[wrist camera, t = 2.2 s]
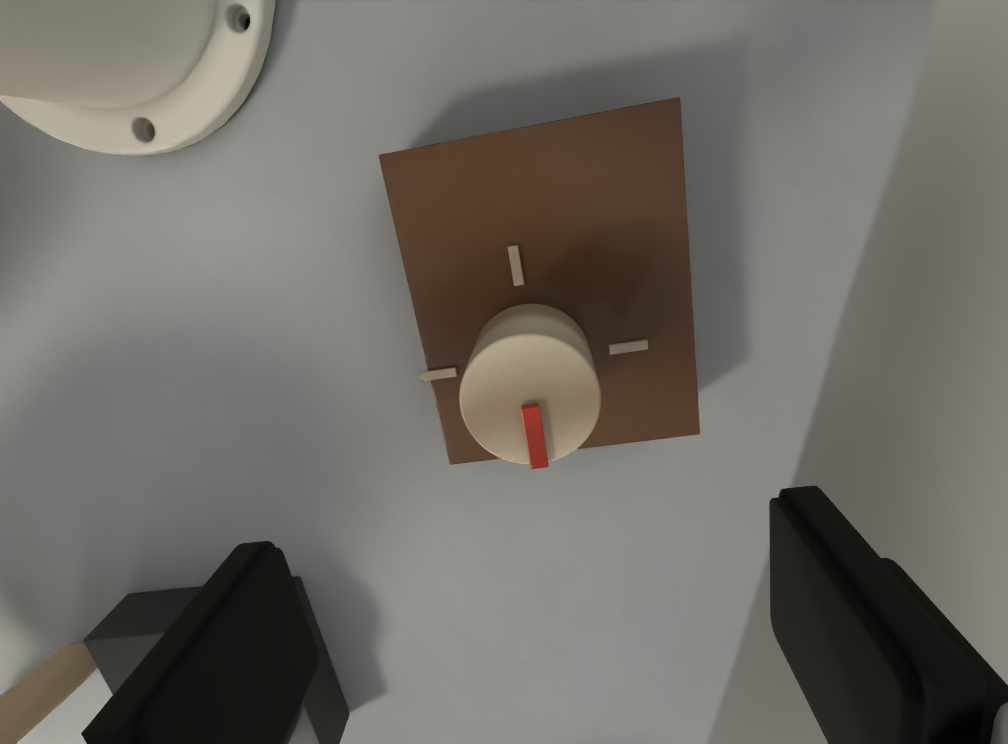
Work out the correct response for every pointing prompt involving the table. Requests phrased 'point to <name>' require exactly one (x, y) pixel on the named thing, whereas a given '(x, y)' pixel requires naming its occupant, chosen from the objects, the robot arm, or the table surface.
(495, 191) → the dial panel
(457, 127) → the table surface
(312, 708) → the button base
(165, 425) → the table surface
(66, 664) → the planter
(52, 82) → the robot arm
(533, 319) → the dial
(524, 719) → the table surface
